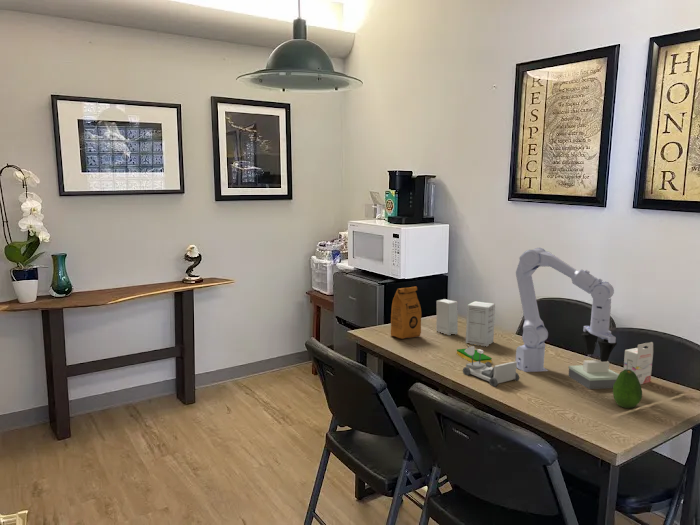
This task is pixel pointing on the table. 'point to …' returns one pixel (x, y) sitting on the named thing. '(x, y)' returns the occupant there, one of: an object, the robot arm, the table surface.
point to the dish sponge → (474, 356)
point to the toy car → (490, 369)
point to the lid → (595, 370)
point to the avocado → (627, 389)
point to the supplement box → (480, 323)
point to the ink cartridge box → (640, 361)
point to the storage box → (591, 384)
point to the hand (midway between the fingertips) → (596, 357)
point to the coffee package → (405, 314)
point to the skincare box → (447, 317)
